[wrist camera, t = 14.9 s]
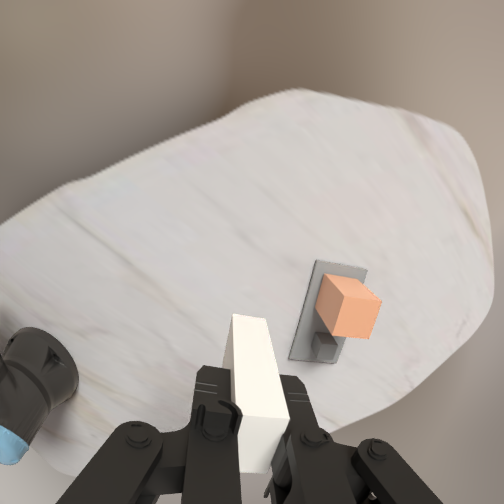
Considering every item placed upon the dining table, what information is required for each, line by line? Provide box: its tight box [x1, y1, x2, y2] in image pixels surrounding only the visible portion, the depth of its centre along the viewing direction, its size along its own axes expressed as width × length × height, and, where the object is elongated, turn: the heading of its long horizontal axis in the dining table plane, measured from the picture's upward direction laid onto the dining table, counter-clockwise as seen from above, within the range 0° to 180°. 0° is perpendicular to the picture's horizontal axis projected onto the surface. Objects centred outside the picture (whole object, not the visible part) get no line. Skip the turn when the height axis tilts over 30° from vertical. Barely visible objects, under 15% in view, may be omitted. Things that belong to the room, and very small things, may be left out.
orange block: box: [315, 273, 382, 339], centre depth 41 cm, size 5×5×9 cm
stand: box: [289, 260, 367, 363], centre depth 43 cm, size 8×16×9 cm, turn 169°
